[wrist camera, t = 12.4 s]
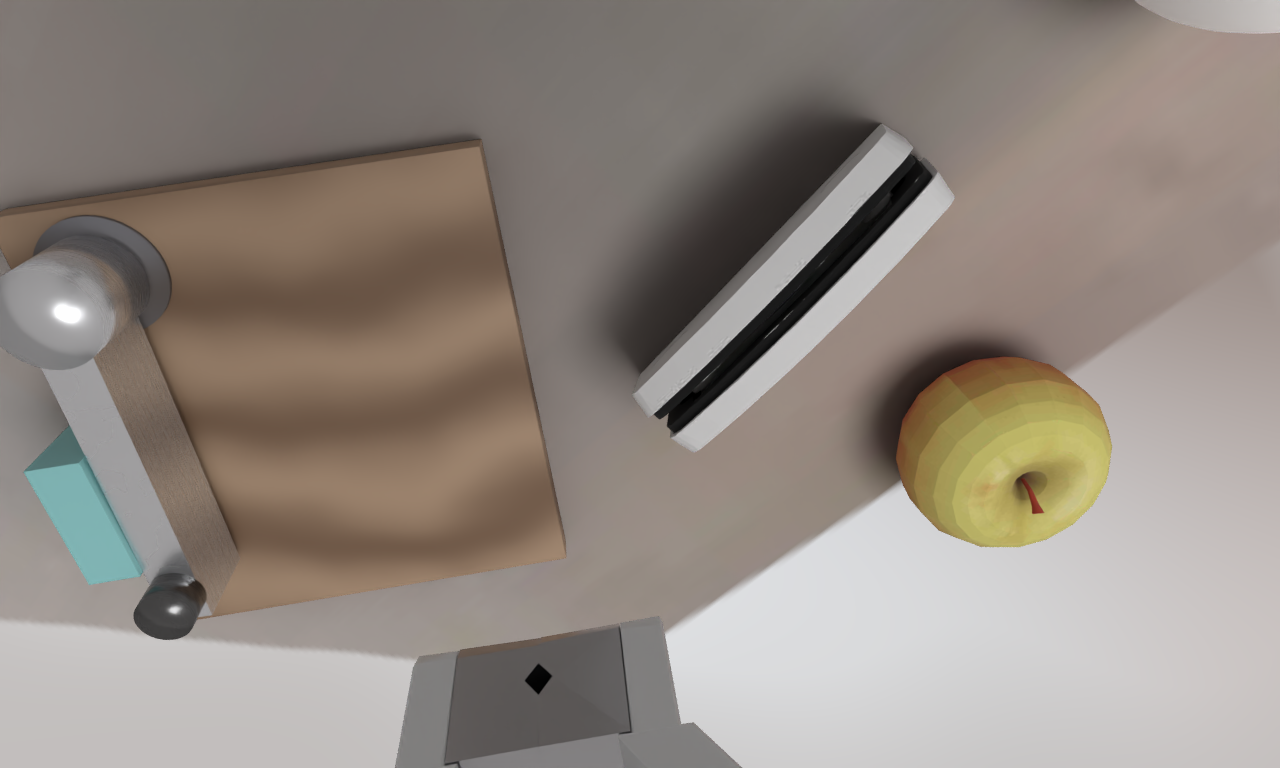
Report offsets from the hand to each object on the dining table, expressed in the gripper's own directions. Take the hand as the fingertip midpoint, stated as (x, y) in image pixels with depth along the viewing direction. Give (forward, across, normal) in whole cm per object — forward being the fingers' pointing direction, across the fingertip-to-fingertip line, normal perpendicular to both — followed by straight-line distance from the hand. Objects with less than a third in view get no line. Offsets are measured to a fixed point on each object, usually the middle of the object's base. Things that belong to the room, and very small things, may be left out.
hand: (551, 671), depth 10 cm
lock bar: (+27, +19, +8) cm, 34 cm away
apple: (+29, -20, +17) cm, 39 cm away
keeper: (+28, +21, +11) cm, 37 cm away
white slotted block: (+30, -10, +7) cm, 32 cm away
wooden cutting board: (+29, +12, +10) cm, 33 cm away
